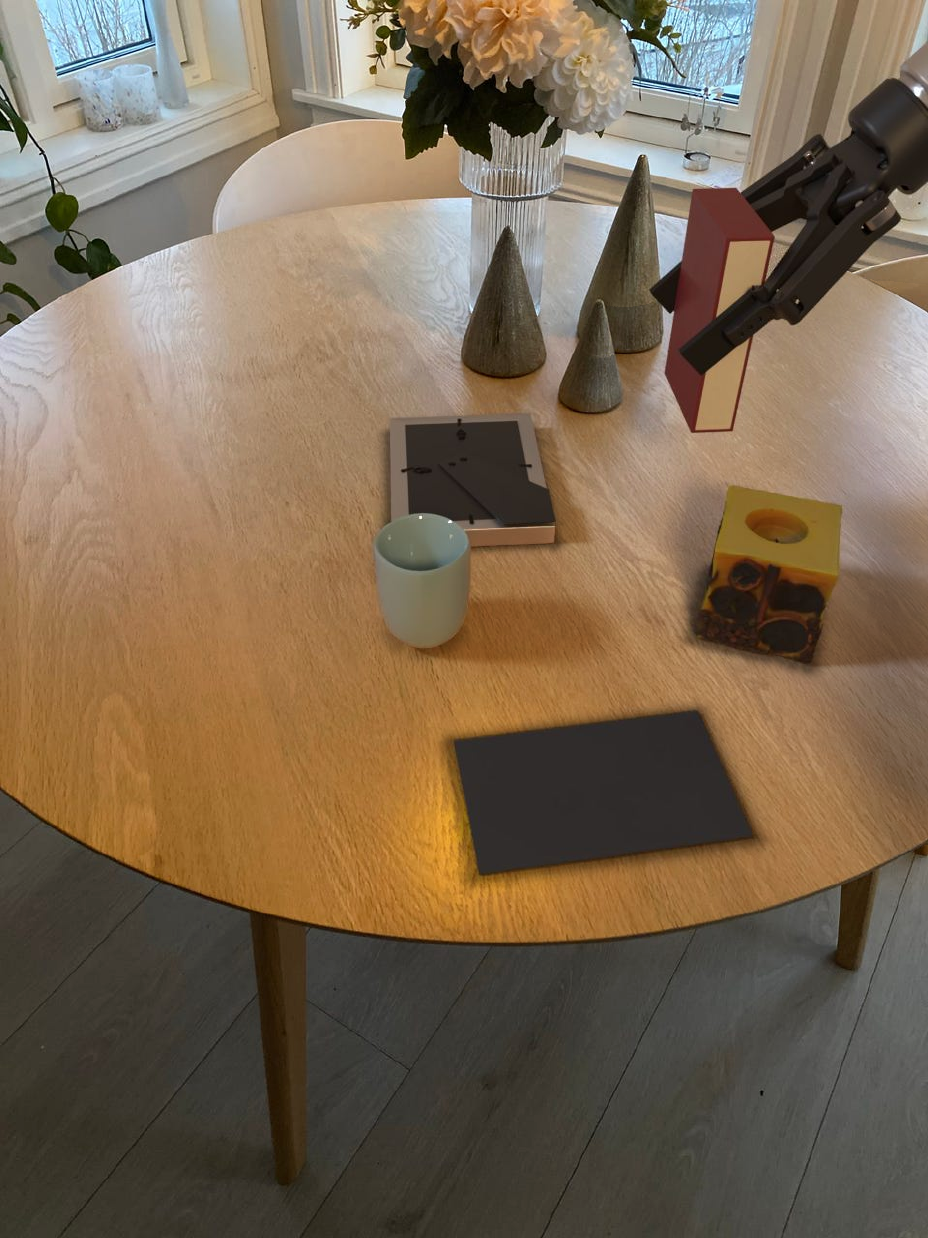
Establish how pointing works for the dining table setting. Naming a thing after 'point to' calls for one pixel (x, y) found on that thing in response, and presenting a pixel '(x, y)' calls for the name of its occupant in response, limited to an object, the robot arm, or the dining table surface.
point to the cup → (423, 578)
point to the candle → (771, 573)
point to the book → (715, 301)
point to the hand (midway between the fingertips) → (673, 330)
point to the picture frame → (473, 476)
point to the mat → (596, 792)
